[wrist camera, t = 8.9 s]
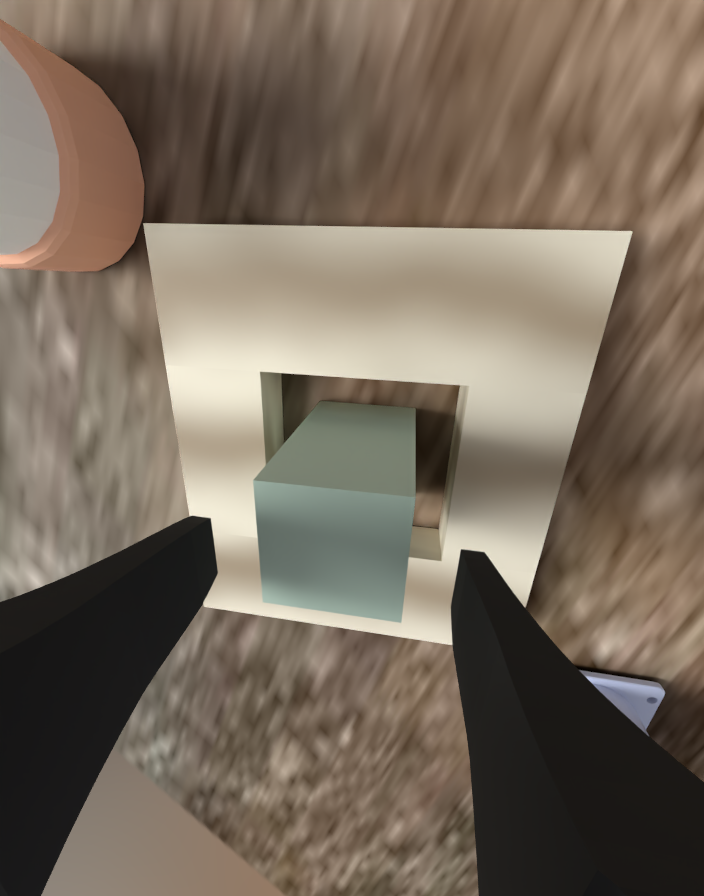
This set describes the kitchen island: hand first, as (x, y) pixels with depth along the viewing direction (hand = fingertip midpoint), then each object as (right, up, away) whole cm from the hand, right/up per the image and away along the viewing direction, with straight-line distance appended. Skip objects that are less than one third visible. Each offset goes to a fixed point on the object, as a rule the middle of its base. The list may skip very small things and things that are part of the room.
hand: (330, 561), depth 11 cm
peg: (+1, +3, +7) cm, 8 cm away
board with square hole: (+1, +3, +7) cm, 8 cm away
